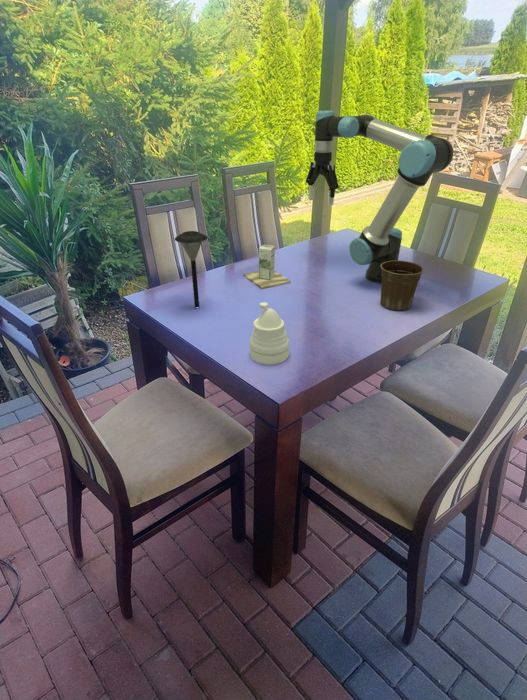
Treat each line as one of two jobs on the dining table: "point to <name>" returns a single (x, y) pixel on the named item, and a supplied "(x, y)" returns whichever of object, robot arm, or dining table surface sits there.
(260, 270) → the syrup box
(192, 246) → the solar garden light
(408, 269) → the plant pot
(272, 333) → the honey pot
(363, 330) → the dining table surface
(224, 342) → the dining table surface
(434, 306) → the dining table surface
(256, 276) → the birch board
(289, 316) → the dining table surface
